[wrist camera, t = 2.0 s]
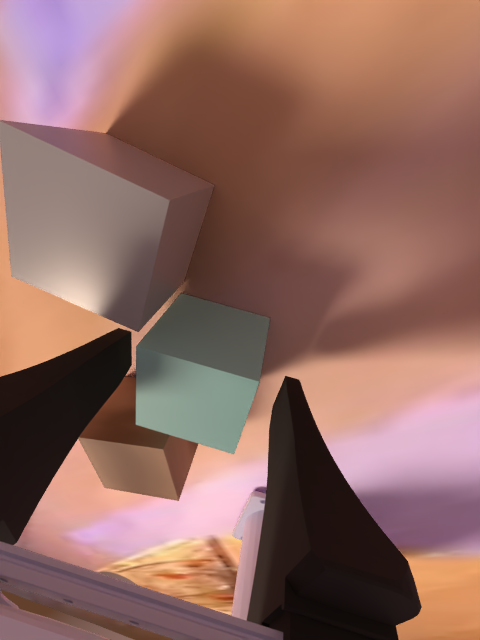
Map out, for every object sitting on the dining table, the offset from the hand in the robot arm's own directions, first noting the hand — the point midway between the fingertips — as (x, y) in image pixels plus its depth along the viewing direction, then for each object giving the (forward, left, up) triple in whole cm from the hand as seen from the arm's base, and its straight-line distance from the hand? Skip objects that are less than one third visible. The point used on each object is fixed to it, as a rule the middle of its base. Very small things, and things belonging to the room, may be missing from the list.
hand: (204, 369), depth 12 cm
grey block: (+4, -5, -2) cm, 7 cm away
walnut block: (+2, +6, -2) cm, 7 cm away
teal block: (0, 0, -3) cm, 3 cm away
